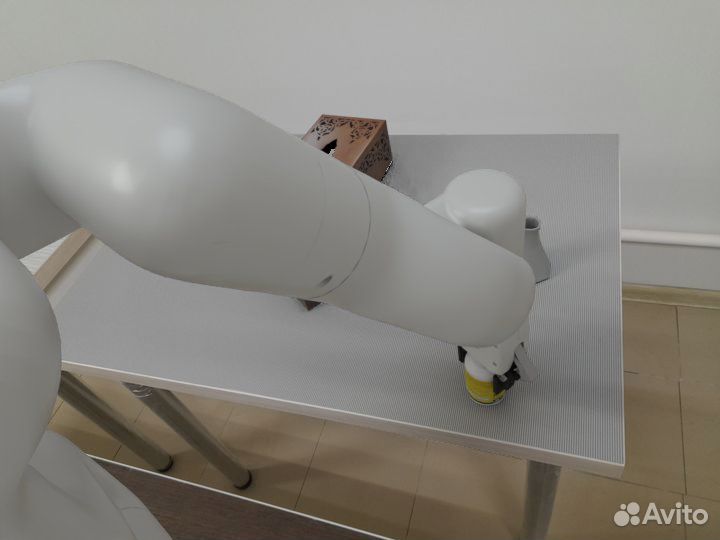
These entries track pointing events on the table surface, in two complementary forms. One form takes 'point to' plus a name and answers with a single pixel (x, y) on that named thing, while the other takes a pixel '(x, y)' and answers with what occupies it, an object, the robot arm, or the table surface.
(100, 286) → the table surface
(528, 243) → the flask
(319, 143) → the tissue box cover
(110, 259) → the table surface
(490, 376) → the supplement bottle
